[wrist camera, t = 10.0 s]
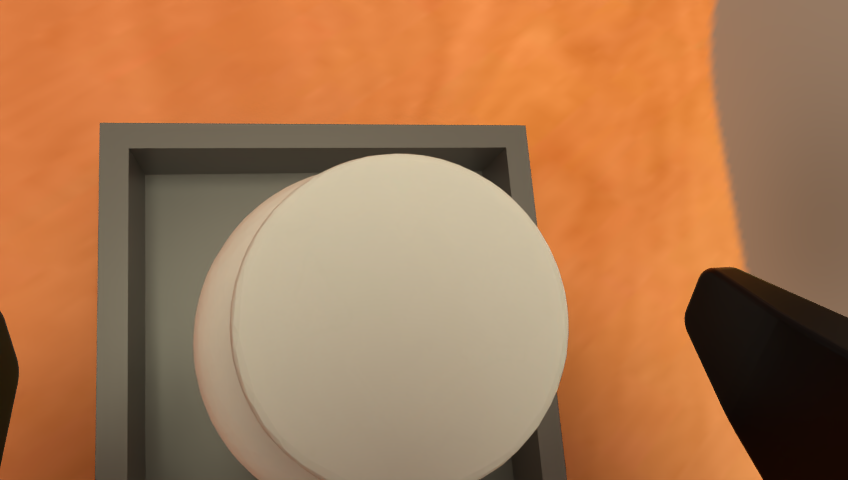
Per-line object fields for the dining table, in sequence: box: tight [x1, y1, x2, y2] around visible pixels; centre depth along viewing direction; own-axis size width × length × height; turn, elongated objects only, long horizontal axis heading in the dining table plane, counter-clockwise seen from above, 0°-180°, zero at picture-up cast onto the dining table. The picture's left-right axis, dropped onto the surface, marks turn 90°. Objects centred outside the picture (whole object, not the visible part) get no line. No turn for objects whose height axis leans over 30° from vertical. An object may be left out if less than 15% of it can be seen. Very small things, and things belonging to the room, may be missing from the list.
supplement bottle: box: [193, 154, 568, 480], centre depth 12 cm, size 5×5×10 cm
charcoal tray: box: [95, 123, 567, 480], centre depth 16 cm, size 10×10×2 cm
